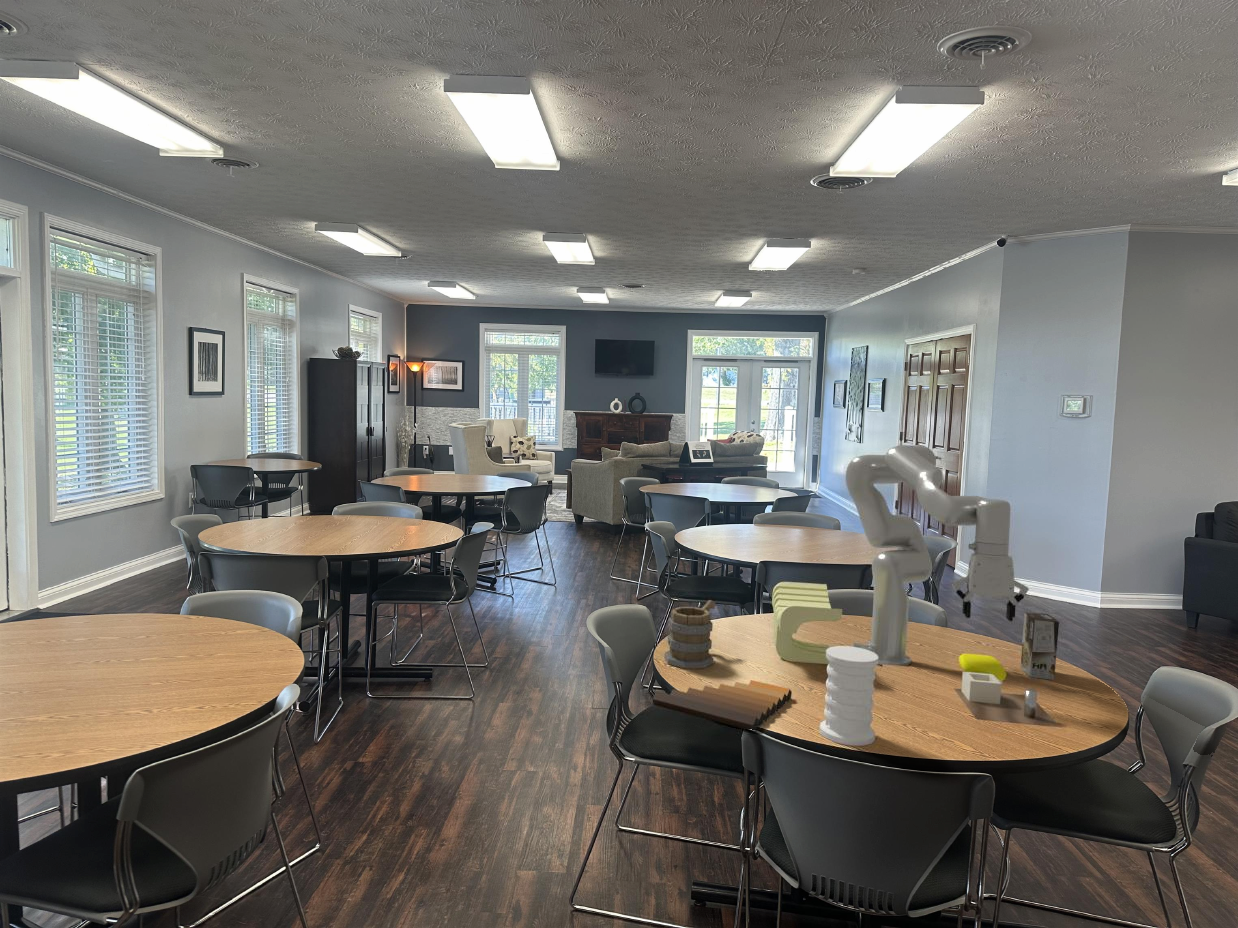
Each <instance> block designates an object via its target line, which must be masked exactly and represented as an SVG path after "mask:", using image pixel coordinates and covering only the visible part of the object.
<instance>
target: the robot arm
mask: <svg viewBox="0 0 1238 928" xmlns="http://www.w3.org/2000/svg"><path fill="white" fill-rule="evenodd" d="M943 480H944V474H943V471H942V470H941V469H940V468H939V467H938V466H937V458H936V455H935V453H934V452H933V450H932V449H930V448H929V447H928V446H924V445H918V444H915V445H911V444H910V445H908V444H907V445H906V444H904V445H902V444H899V445H896V446H893V447H891V448H889V450H888V451H886V453H885V454H863V455H859V456H856V457H854V458H852V459H851V461H849V463H848V464H847V467H846V471H845V485H846V488H847V491H848V493H849V495H850V497H851V500H852V502H853V503H854V505H855V507H856V510H857V513H858V517H859V519H860V523H861V525H862V527H863V531H864V533H865V537H866V540H867V541H868V543H869V544H870V546H871V547H873V548H876V549H889V548H890V549H891V550H885V551H881V552H880V553H878V554H876V556H875V557H874V558H873V560H872V563H871V573H872V580H873V601H872V604H873V606H872V617H871V618H872V619H871V620H872V621H871V635H870V636H871V637H870V640H869V639H868V642H865V643H860V642H853V645H852V647H858V648H862V649H866V650H869V651H872V652H874V653H875V654H877V655H878V664H877V665H880V666H883V665H886V666H898V667H907V666H910V665H911V663H912V658H911V657H910V656H908V655H907V654H906V651H907V638H908V637H907V636H908V626H909V625H908V623H909V622H908V620H909V608H910V606H909V605H910V601H909V595H908V592H907V590H906V588H905V584H916V583H923V582H925V581H927V580H928V579H929V578H930V577H931V575H932V572H933V564H932V559H931V556H930V553H929V549H928V548H927V544H926V543H925V539H924V537H923V534H922V531H921V529H920V527H919V525H918V523H917V522H916V521H915V520H914V519H913V518H912V517H910V516H909V515H906V514H905V515H904V514H892V513H891V511H890V509H889V506H888V503H887V500H886V499H885V497H884V496H883V494H882V493H881V492H880V491H879V490H878V489H877V488H876V487H875V484H877V485H879V484H880V485H881V484H883V485H884V484H887V485H888V484H890V485H891V484H892V485H893V484H899V483H905V484H906V485H907V486H908V487H910V488H911V489H912V490H914V491H915V493H916V496H917V500H918V502H919V505H920V506H921V509H923V510H924V512H926V513H927V514H928V515H929V516H930V517H932V518H933V519H935V520H936V521H937V522H939V523H940V524H943V525H945V526H949V527H958V526H959V527H960V526H970V527H971V526H975V533H974V534H975V537H974V541H973V542H972V543H968V550H972V551H973V552H972V553H971V555H970V559H969V563H968V568H967V575H966V576H964V577H962V578H959V579H957V580H953V581H952V582H951V586H952V587H953V589H954V591H955V594H957V596H959V597H960V598H961V599H962V615H964V617H965V618H966V619H970V618H971V611H972V610H971V609H972V603H971V601H970V600H971V599H972V598H973V597H974V596H976V597H977V596H978V597H987V598H988V597H989V598H991V597H992V598H1003V599H1004V598H1005V599H1007V600H1008V602H1007V603H1006V609H1005V610H1006V612H1005V613H1006V614H1005V615H1006V616H1005V619H1006V620H1008V621H1009V622H1013V621H1014V618H1016V606H1017V605H1018V603H1020V602H1021V601H1022V600H1023V599H1024V598H1025V596H1026V595H1027V593H1028V592H1029V589H1030V588H1029V587H1028V586H1026V585H1024V583H1023V584H1022V583H1021V582H1020V581H1017V580H1016V579H1015V570H1014V560H1013V557H1012V556H1011V555H1009V551H1010V550H1009V547H1010V531H1011V530H1010V528H1011V527H1010V526H1011V525H1010V524H1011V504H1010V502H1009V501H1007V500H1004V499H995V498H986V497H983V496H977V495H949V494H948V493H947V492H945V491H944V490H942V489H941V488H940V487H941V484H942V483H943ZM892 548H897V549H895V550H892ZM965 584H966V591H965V592H963V591H962V589H961V586H962V585H963V586H964V585H965ZM1015 588H1018V589H1019V592H1017V593H1016V594H1015ZM1014 594H1015V595H1014Z"/></svg>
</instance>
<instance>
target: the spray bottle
mask: <svg viewBox="0 0 1238 928" xmlns="http://www.w3.org/2000/svg"><path fill="white" fill-rule="evenodd" d="M958 663H959V665H960V667H961V668H962V670H963V672H973V673H984V674H993V675H994V676H995V677H996V679H997V680H998V681H999V682H1000V683H1001V684H1003V681H1004V680H1006V677H1007V676H1008V673H1007V672H1006V668H1005V667H1004V666H1003V665H1002V664H1001V663H1000V661H999V660H997V658H996V657H993V656H992V655H988V654H987V655H985V654H974V653H962V654H960V655H959V657H958Z"/></svg>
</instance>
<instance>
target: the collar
mask: <svg viewBox="0 0 1238 928" xmlns="http://www.w3.org/2000/svg"><path fill="white" fill-rule="evenodd" d="M960 689H961V691H962V693H963V694H964V695H965V696H966V698H967V699H968V700H969V701H972V702H983V703H993V704H1000V696H1001V693H1002V683H1000V682H999V681H998V680H997V679H996V677H995V676H994V675H993V674H986V673H974V672H965V671H962V678H961V688H960Z"/></svg>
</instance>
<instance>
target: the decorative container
mask: <svg viewBox="0 0 1238 928" xmlns="http://www.w3.org/2000/svg"><path fill="white" fill-rule="evenodd" d="M826 658H827V659H828V660H829V664H827V666H826V673H827V679H826V681H825V686H826V690H827V691H826V693H825V695H824V696H825V697H824V700H825V704H826V705H825V707H824V710H823V713H824V718H825V720H822V721H821V722H820V724H819V734H820V735H821V736H822V737H824V738H825V739H826V740H828V741H831V742H832V743H833V742H834V743H837V744H839V745H844V746H851V747H862V746H867V745H871V744H873V743H874V742H875V739H876V732H875V730H874V728H872V727H871V725H872V722H873V713H872V710H873V708H874V706H875V705H874V703H875V702H874V700H873V695H874V693H875V685H874V681H875V679H876V676H877V675H876V671H875V667H876V666H878V665H879V664H878V655H877V654H875V653H874V652H872V651H869V650H866V649H862V648H858V647H853V646H851V645H850V646H849V645H848V646H847V645H836V646H835V645H834V646H830V647H829V648H828V649H827V650H826Z"/></svg>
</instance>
